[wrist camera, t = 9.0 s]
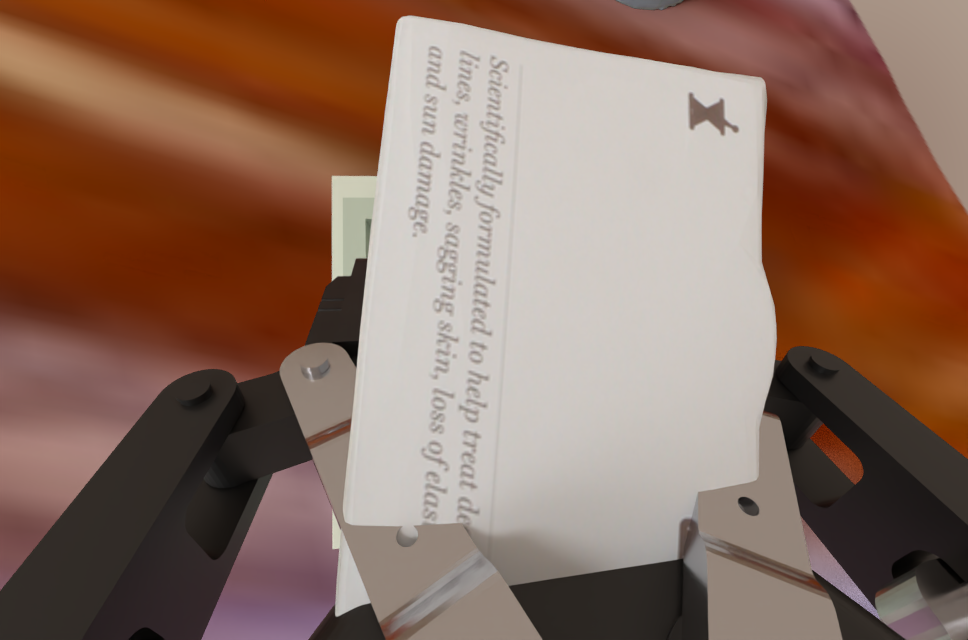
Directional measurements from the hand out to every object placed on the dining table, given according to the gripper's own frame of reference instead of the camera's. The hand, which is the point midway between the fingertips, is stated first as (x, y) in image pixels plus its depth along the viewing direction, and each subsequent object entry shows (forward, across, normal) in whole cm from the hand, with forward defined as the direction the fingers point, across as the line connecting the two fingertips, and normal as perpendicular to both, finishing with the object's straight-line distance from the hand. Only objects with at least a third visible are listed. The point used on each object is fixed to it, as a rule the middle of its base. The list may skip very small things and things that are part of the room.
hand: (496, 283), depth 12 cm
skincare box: (+5, 0, +7) cm, 8 cm away
